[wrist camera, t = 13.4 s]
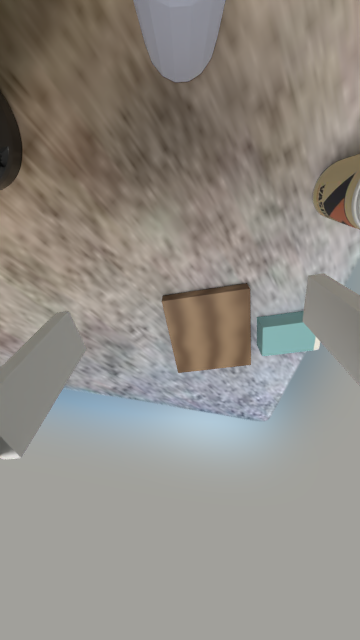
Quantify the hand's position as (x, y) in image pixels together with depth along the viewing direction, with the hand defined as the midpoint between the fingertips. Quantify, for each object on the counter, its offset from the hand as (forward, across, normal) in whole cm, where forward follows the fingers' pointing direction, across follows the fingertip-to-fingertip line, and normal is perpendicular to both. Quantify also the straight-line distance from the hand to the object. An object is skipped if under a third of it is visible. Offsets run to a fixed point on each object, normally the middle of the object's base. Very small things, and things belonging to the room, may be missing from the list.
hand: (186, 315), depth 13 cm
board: (+29, +2, -20) cm, 35 cm away
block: (+27, +12, -22) cm, 37 cm away
